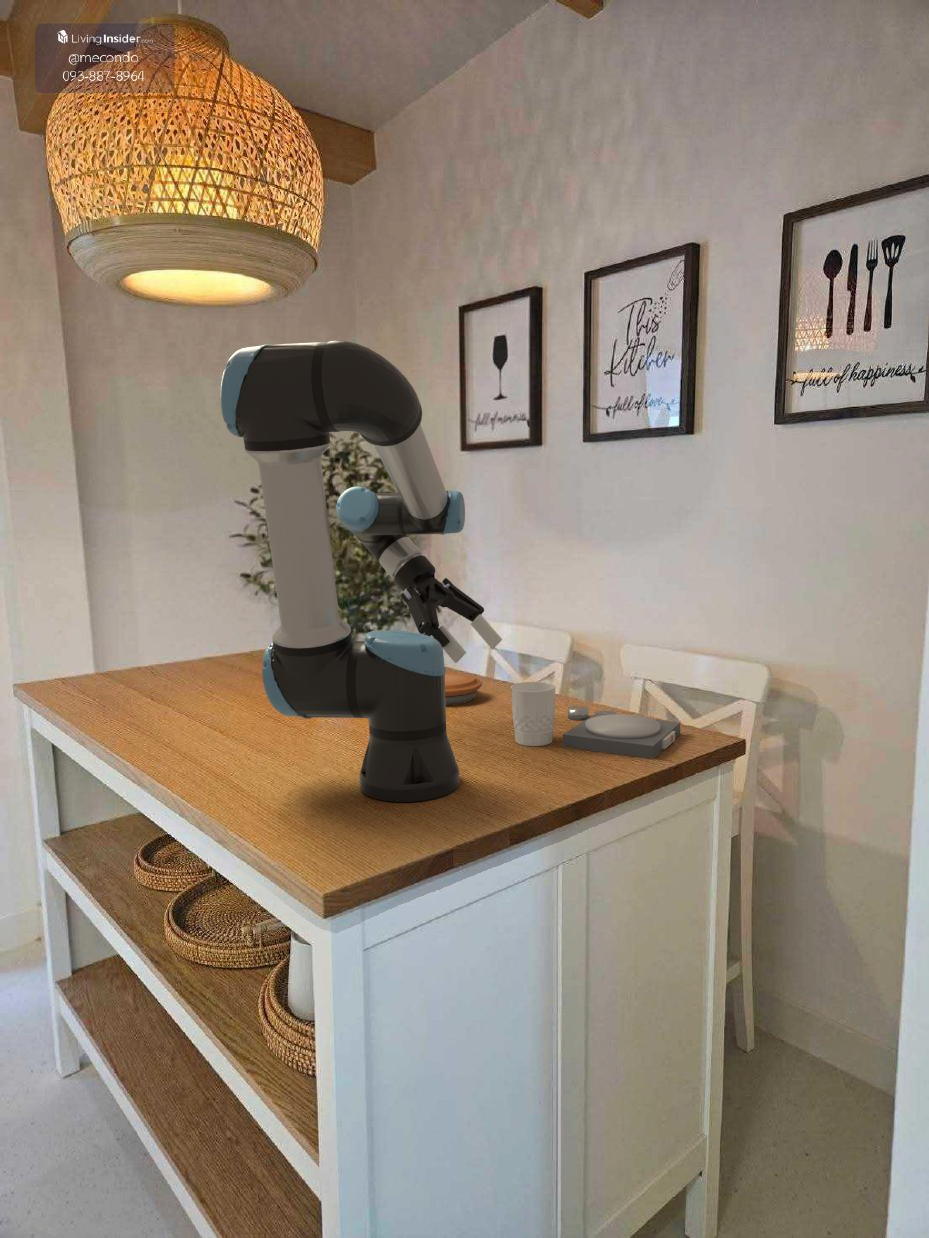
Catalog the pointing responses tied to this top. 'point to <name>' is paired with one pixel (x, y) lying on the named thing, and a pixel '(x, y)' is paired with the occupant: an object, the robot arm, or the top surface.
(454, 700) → the pie
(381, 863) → the top surface
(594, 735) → the scale
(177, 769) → the top surface
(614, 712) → the cylinder
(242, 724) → the top surface
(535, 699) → the white cup
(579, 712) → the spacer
